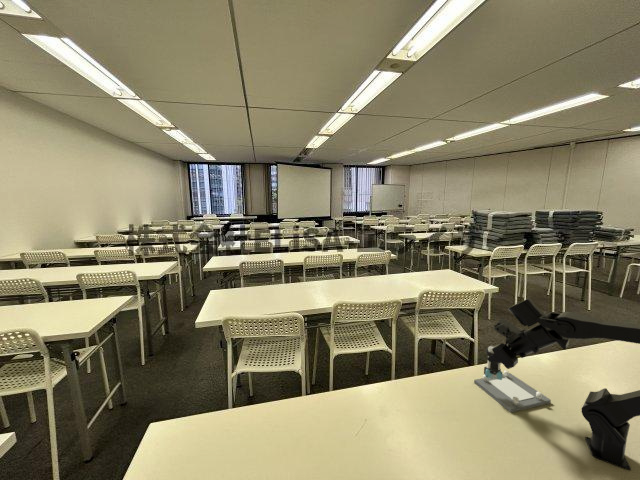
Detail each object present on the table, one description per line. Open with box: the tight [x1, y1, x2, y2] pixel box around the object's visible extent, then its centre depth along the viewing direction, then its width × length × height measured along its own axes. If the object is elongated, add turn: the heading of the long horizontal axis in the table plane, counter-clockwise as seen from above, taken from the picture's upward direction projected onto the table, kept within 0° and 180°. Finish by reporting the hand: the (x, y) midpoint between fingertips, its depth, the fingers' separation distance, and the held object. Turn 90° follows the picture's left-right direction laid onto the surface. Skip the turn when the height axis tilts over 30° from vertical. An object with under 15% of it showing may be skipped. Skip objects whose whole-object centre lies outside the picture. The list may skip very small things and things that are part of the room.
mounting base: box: [473, 369, 552, 413], centre depth 87 cm, size 14×16×3 cm
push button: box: [483, 345, 507, 380], centre depth 84 cm, size 7×5×10 cm
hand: (491, 357), depth 85 cm, fingers closed on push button, 5 cm apart
